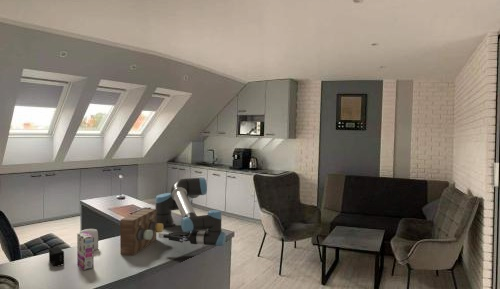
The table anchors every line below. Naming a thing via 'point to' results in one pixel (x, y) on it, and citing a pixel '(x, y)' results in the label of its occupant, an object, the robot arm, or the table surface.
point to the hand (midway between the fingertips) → (159, 235)
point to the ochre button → (159, 227)
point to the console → (136, 231)
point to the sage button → (148, 234)
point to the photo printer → (93, 233)
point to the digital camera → (56, 256)
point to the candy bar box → (85, 250)
